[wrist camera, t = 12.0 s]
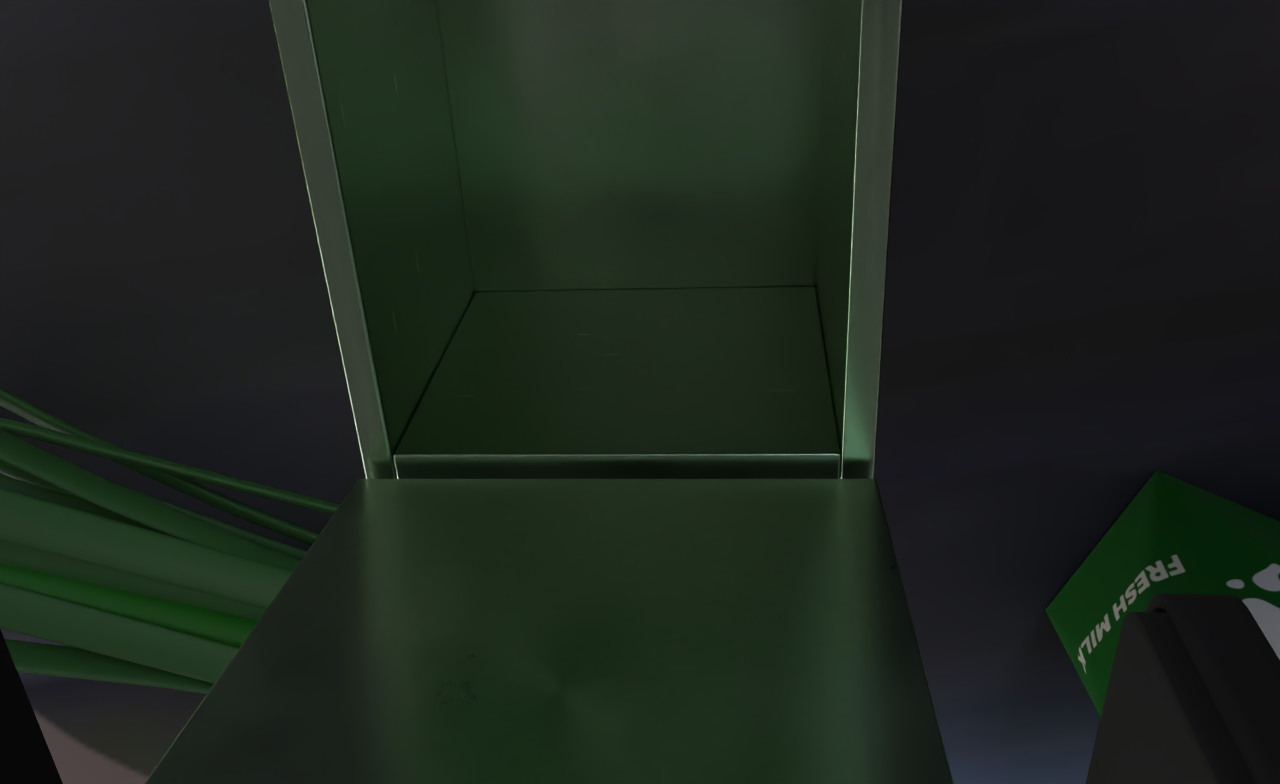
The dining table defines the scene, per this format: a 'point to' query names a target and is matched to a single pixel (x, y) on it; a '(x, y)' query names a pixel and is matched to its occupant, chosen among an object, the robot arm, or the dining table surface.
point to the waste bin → (602, 230)
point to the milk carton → (1166, 570)
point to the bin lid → (580, 642)
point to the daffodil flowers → (130, 562)
